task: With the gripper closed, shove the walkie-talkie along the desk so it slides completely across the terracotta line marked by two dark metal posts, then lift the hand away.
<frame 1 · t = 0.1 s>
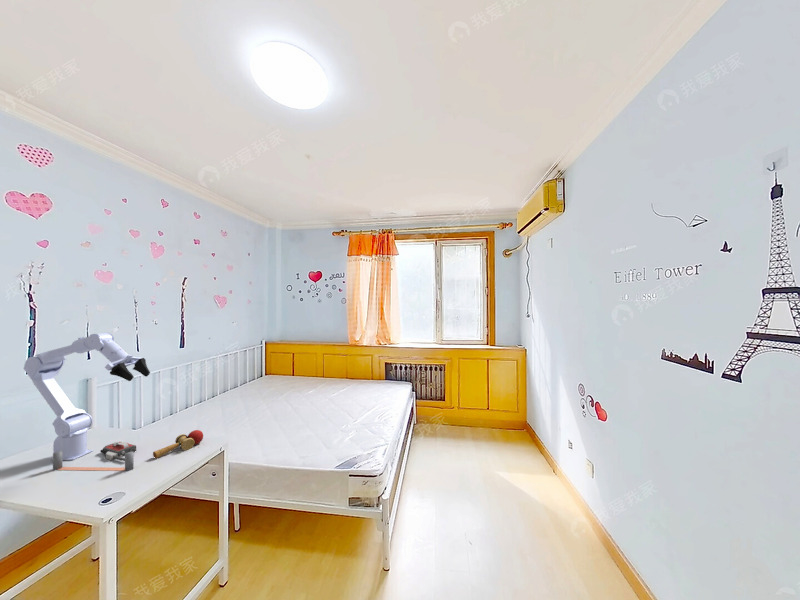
hand: (140, 376, 125), 32 cm above the table, tool tilted 50°, fingers open, 7 cm apart
walkie-talkie: (121, 456, 126), on the table
finish line: (93, 469, 115), on the table
kendama: (179, 450, 130), on the table
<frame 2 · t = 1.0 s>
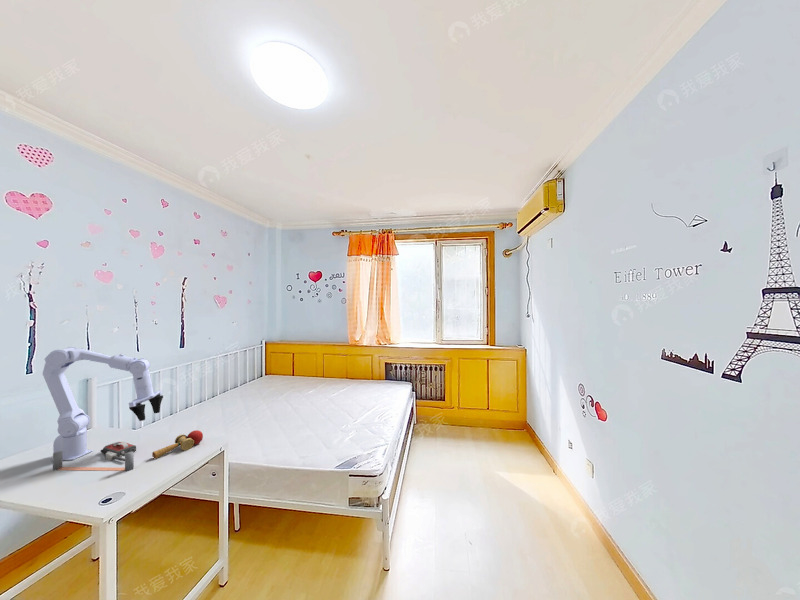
hand: (149, 416, 136), 12 cm above the table, tool pointing down, fingers open, 7 cm apart
nothing on the table moved.
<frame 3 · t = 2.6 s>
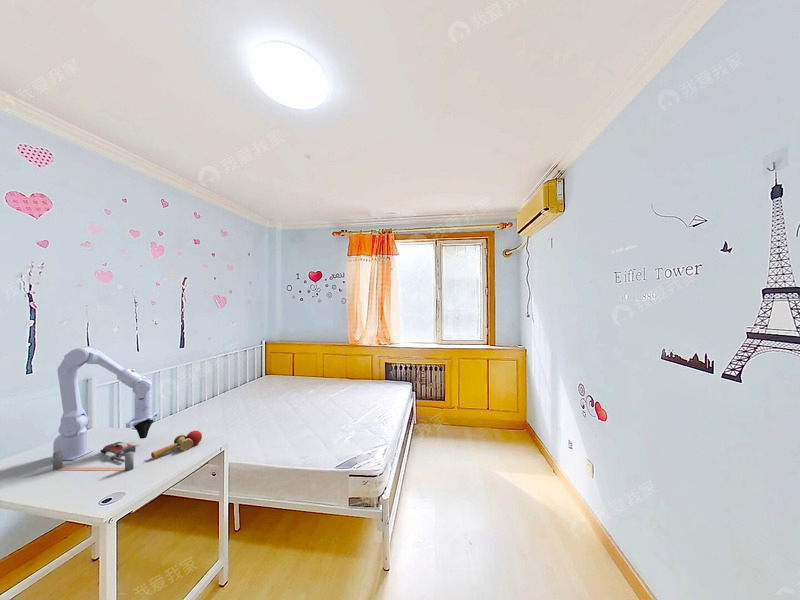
hand: (143, 437, 136), 3 cm above the table, tool pointing down, fingers closed
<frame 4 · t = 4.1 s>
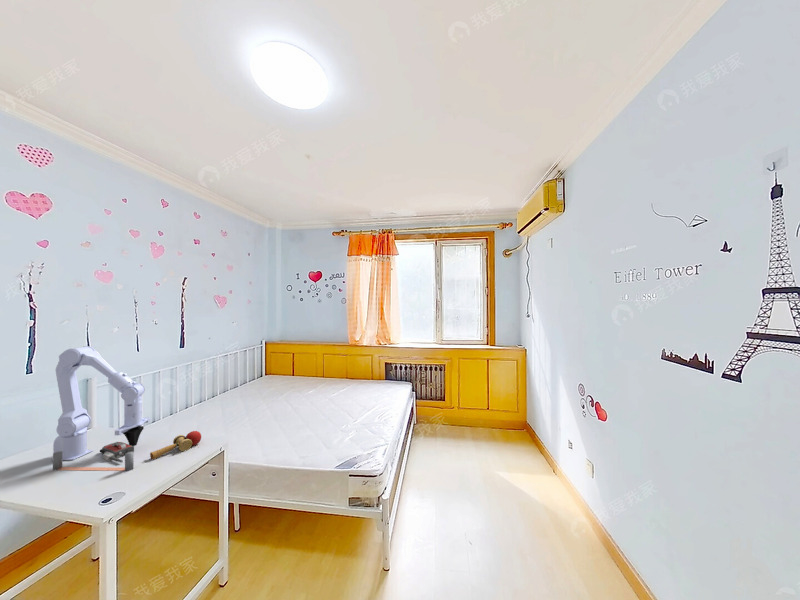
hand: (133, 445, 131), 1 cm above the table, tool pointing down, fingers closed
walkie-talkie: (118, 456, 126), on the table, touching gripper
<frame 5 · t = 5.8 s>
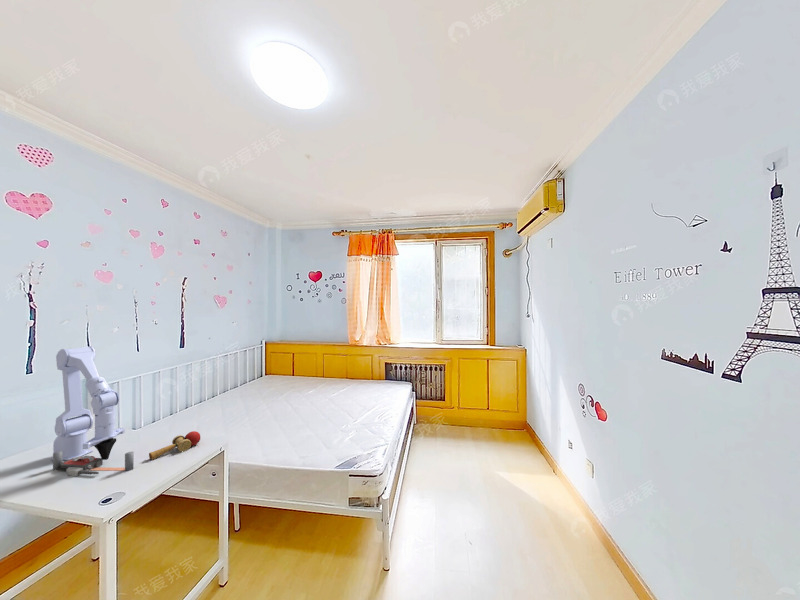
hand: (104, 459, 119), 1 cm above the table, tool pointing down, fingers closed
walkie-talkie: (85, 471, 115), on the table, touching finish line, gripper
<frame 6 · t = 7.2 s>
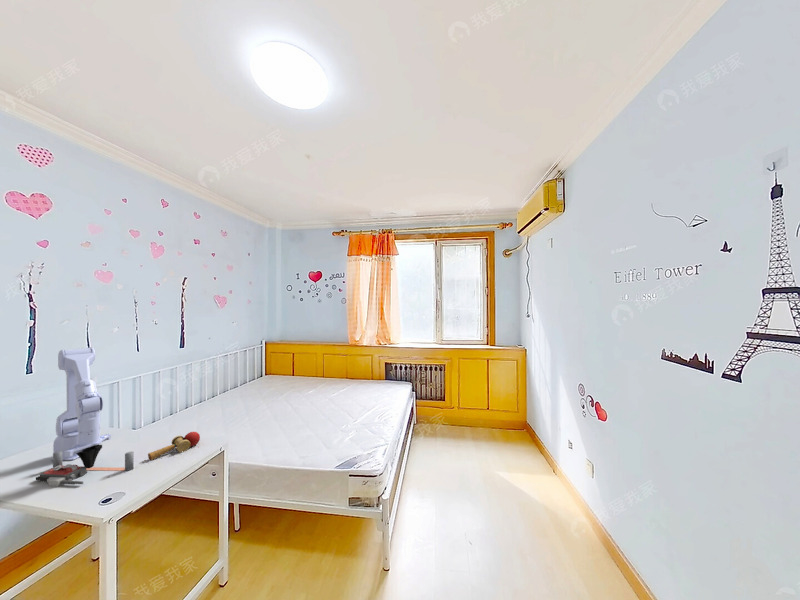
hand: (89, 467, 113), 1 cm above the table, tool pointing down, fingers closed
walkie-talkie: (67, 480, 108), on the table
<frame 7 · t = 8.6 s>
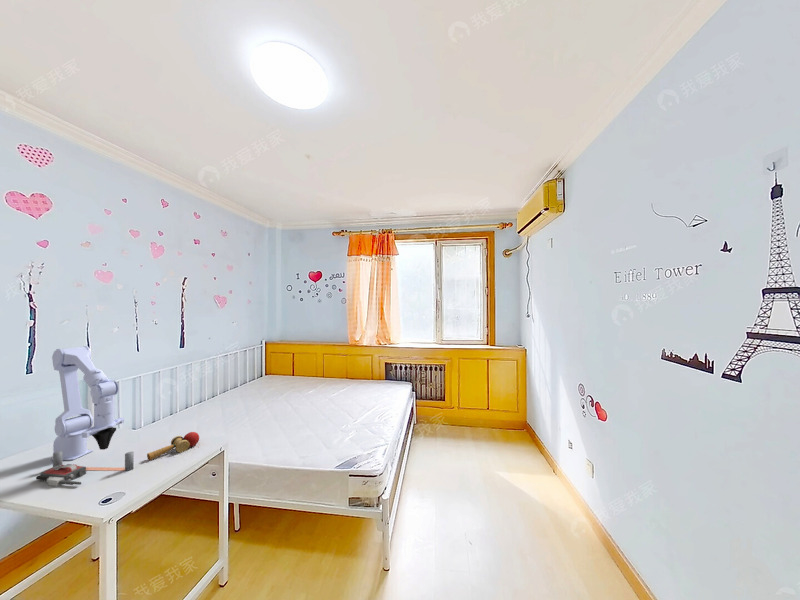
hand: (103, 448, 119), 6 cm above the table, tool pointing down, fingers closed
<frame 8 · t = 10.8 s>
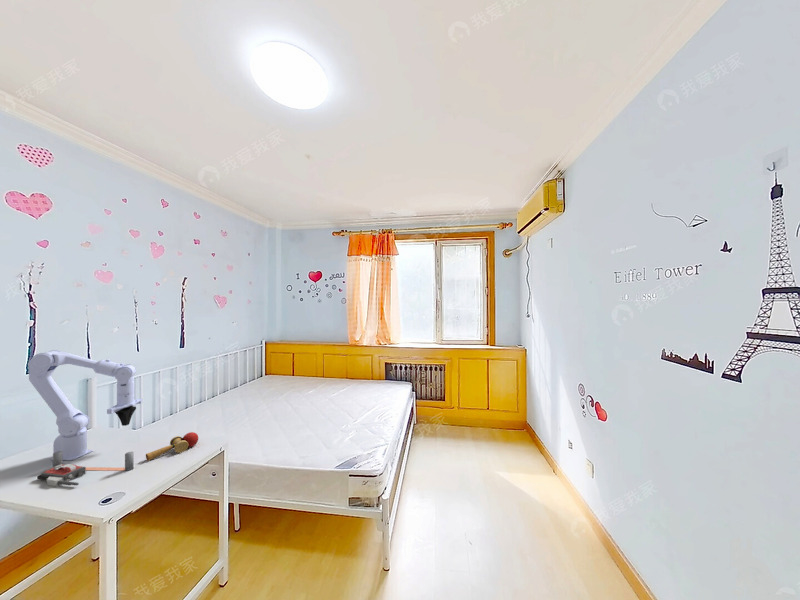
hand: (125, 425, 133), 9 cm above the table, tool pointing down, fingers closed
at the end: walkie-talkie inside the target area (5.4 cm from its centre), on the table; walkie-talkie moved 17.9 cm from its start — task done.
